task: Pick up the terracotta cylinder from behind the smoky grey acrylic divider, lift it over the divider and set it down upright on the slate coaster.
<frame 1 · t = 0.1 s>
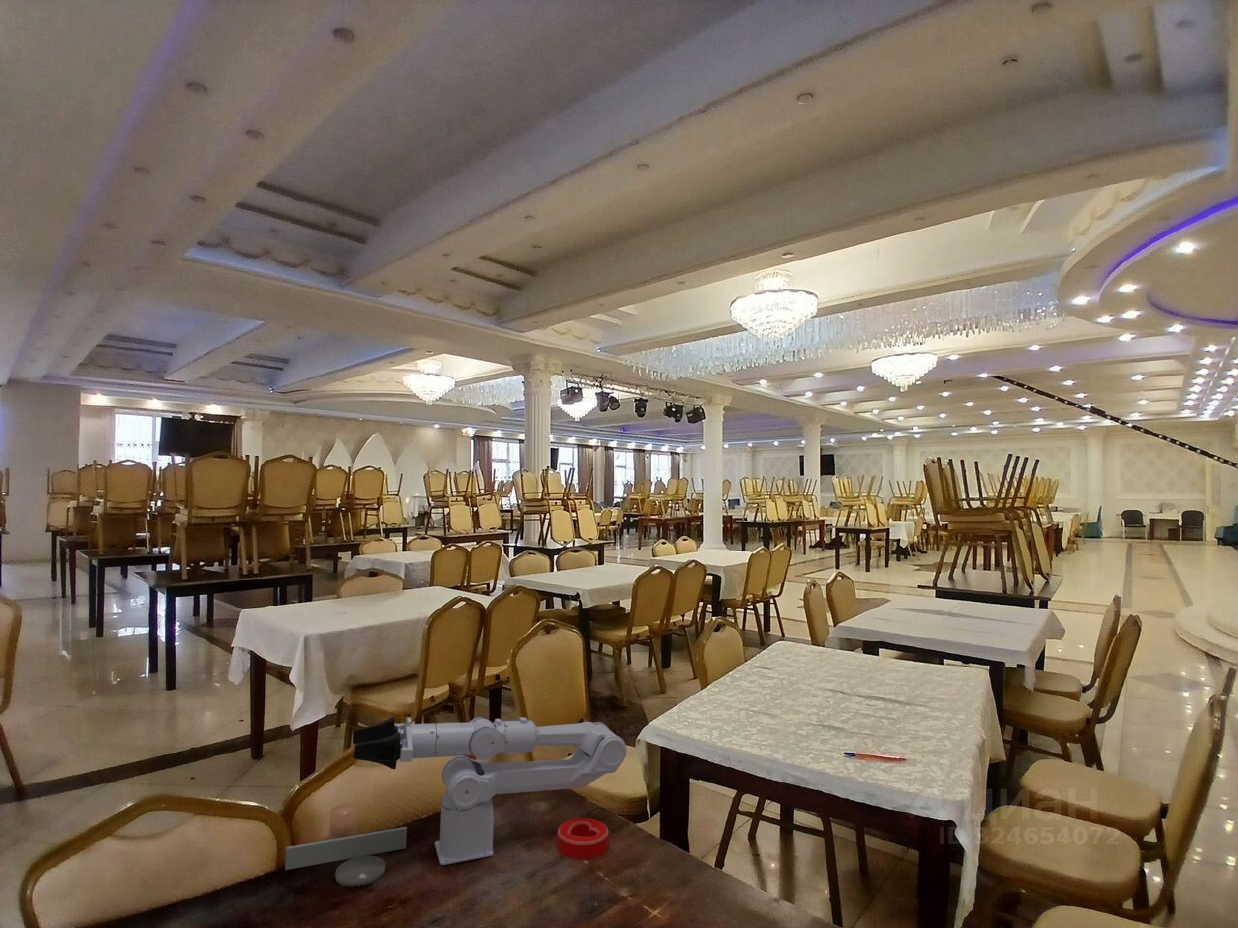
hand: (353, 743, 112), 22 cm above the table, tool horizontal, fingers open, 7 cm apart
decorative ornament: (582, 847, 121), on the table
terracotta cylinder: (341, 842, 120), on the table
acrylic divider: (347, 857, 115), on the table
slate coaster: (360, 872, 111), on the table
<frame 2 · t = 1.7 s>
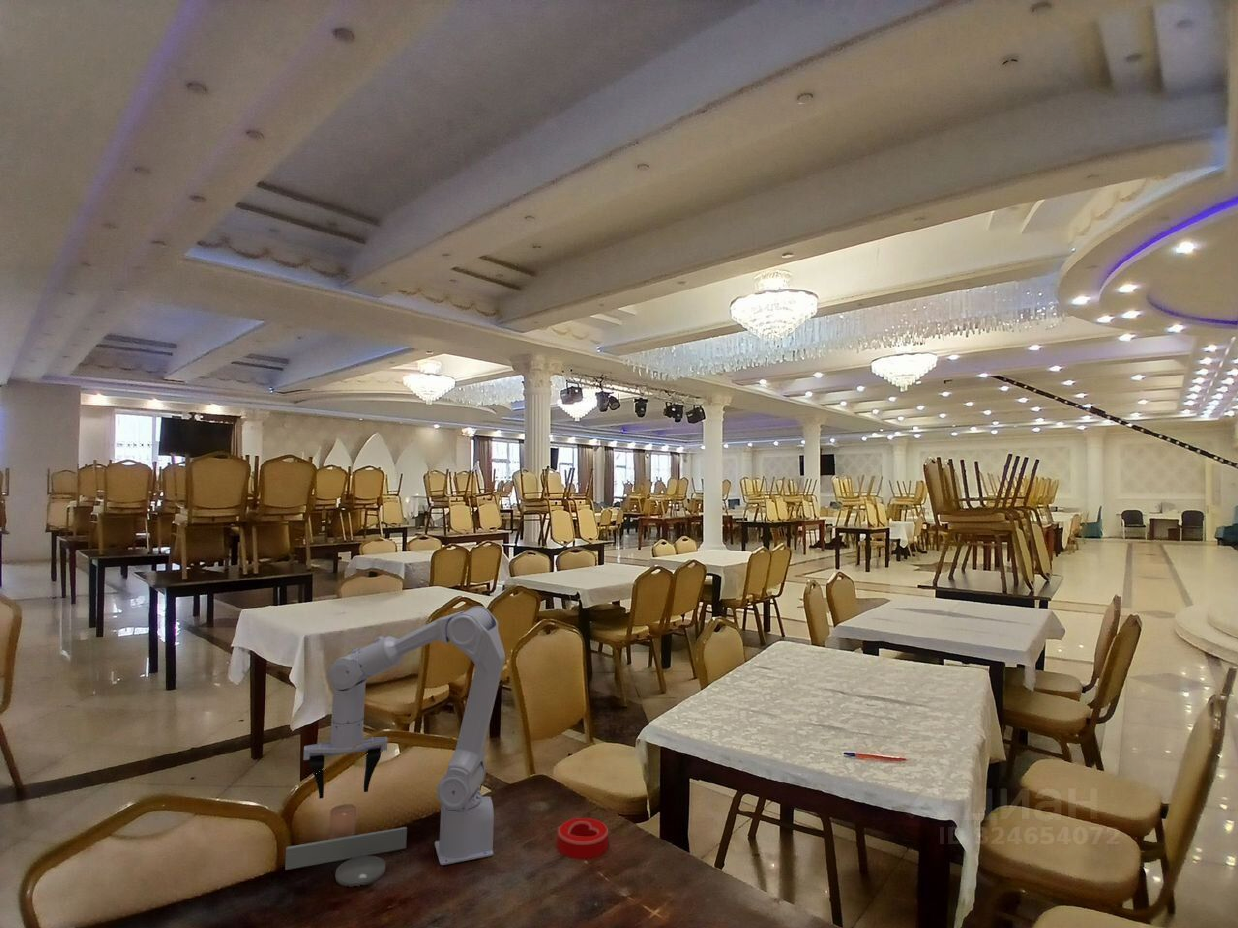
hand: (343, 792, 121), 9 cm above the table, tool pointing down, fingers open, 7 cm apart
nothing on the table moved.
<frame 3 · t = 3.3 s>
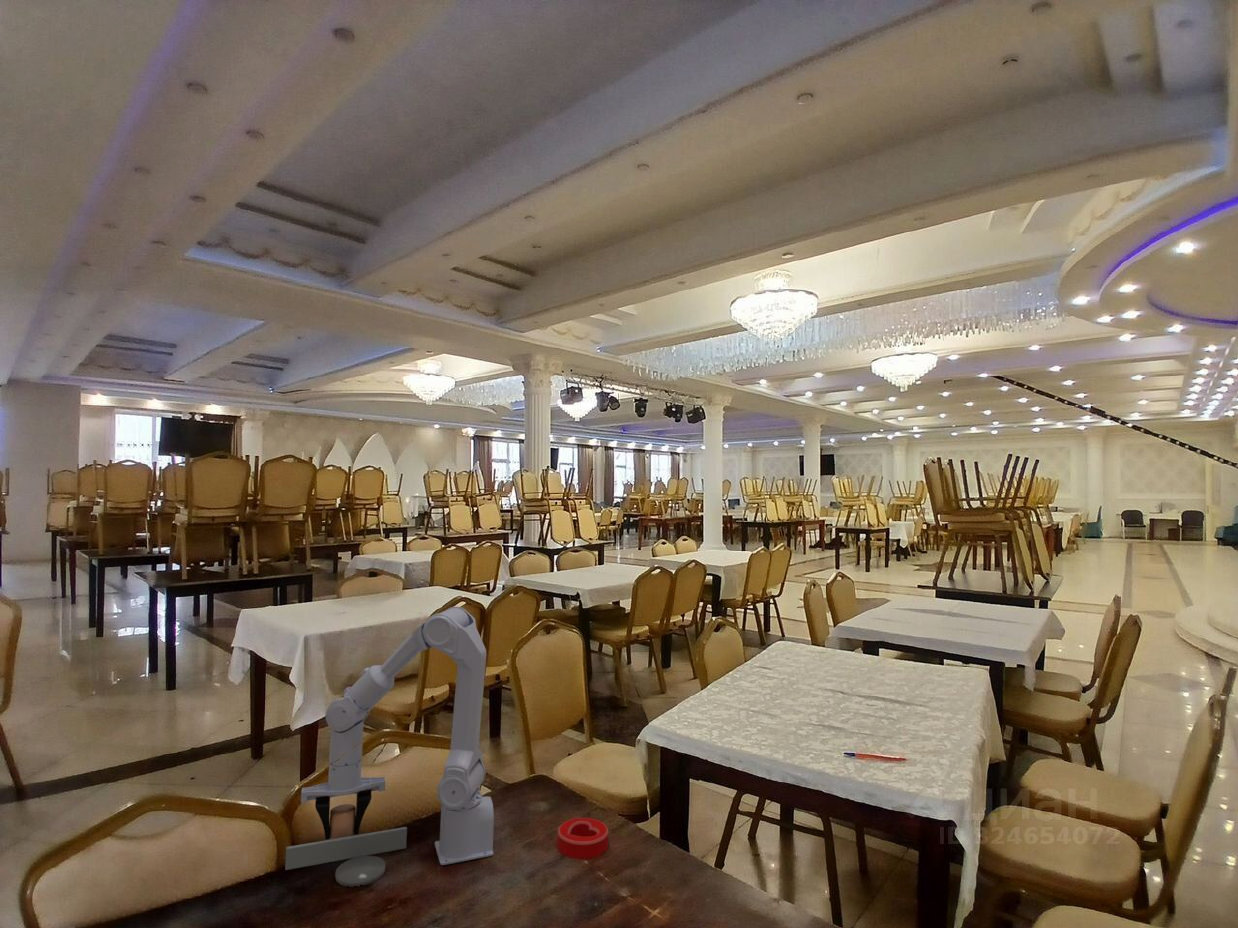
hand: (341, 834, 120), 1 cm above the table, tool pointing down, fingers closed on terracotta cylinder, 4 cm apart
terracotta cylinder: (341, 842, 120), on the table, touching gripper
everything else where it was.
when the fingers open (4 cm above the table, at t = 7.5 s): terracotta cylinder drops 1 cm, resting on slate coaster.
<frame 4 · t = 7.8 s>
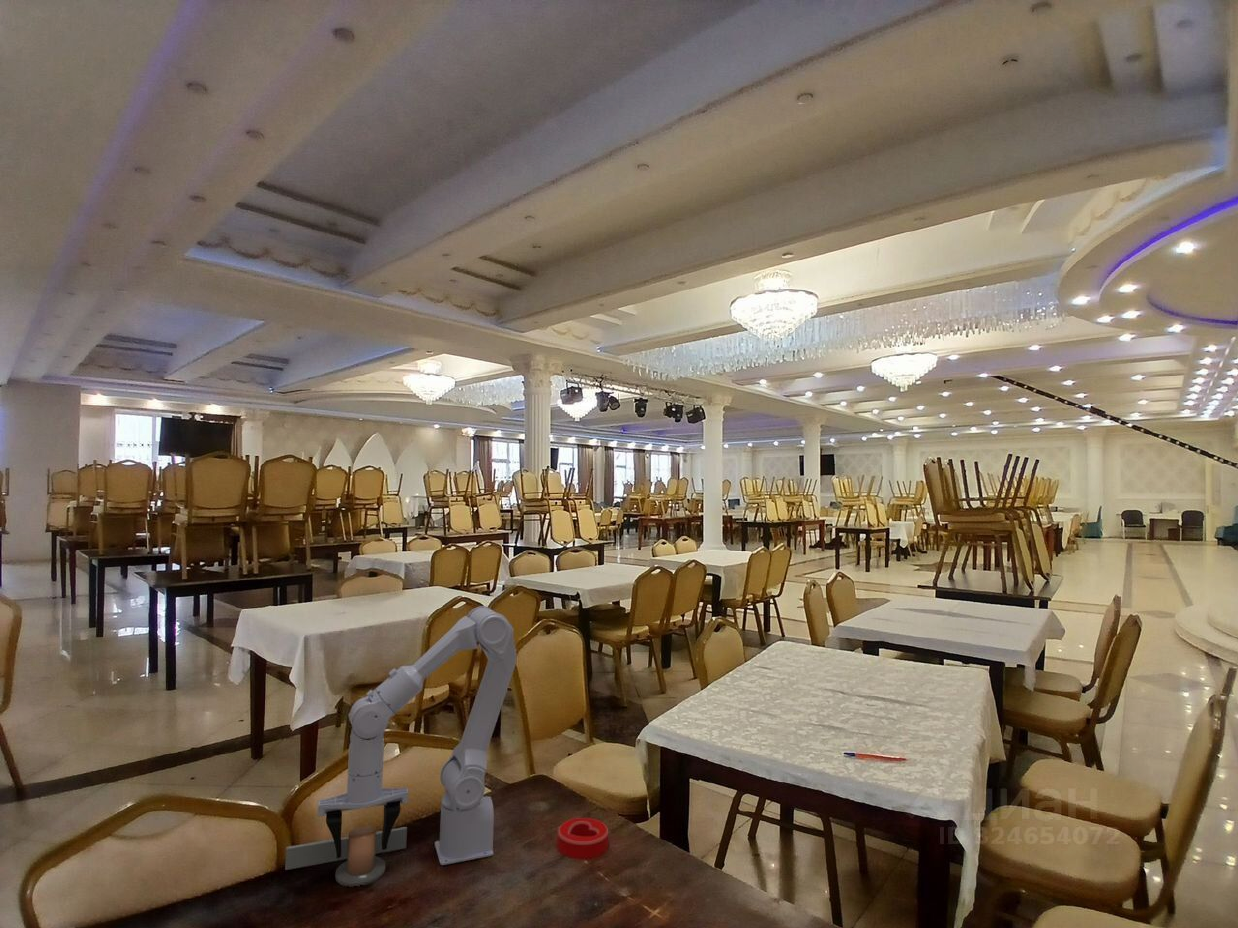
hand: (361, 850, 111), 4 cm above the table, tool pointing down, fingers open, 7 cm apart
terracotta cylinder: (360, 868, 111), point 1 cm above the table, touching slate coaster
everything else where it was.
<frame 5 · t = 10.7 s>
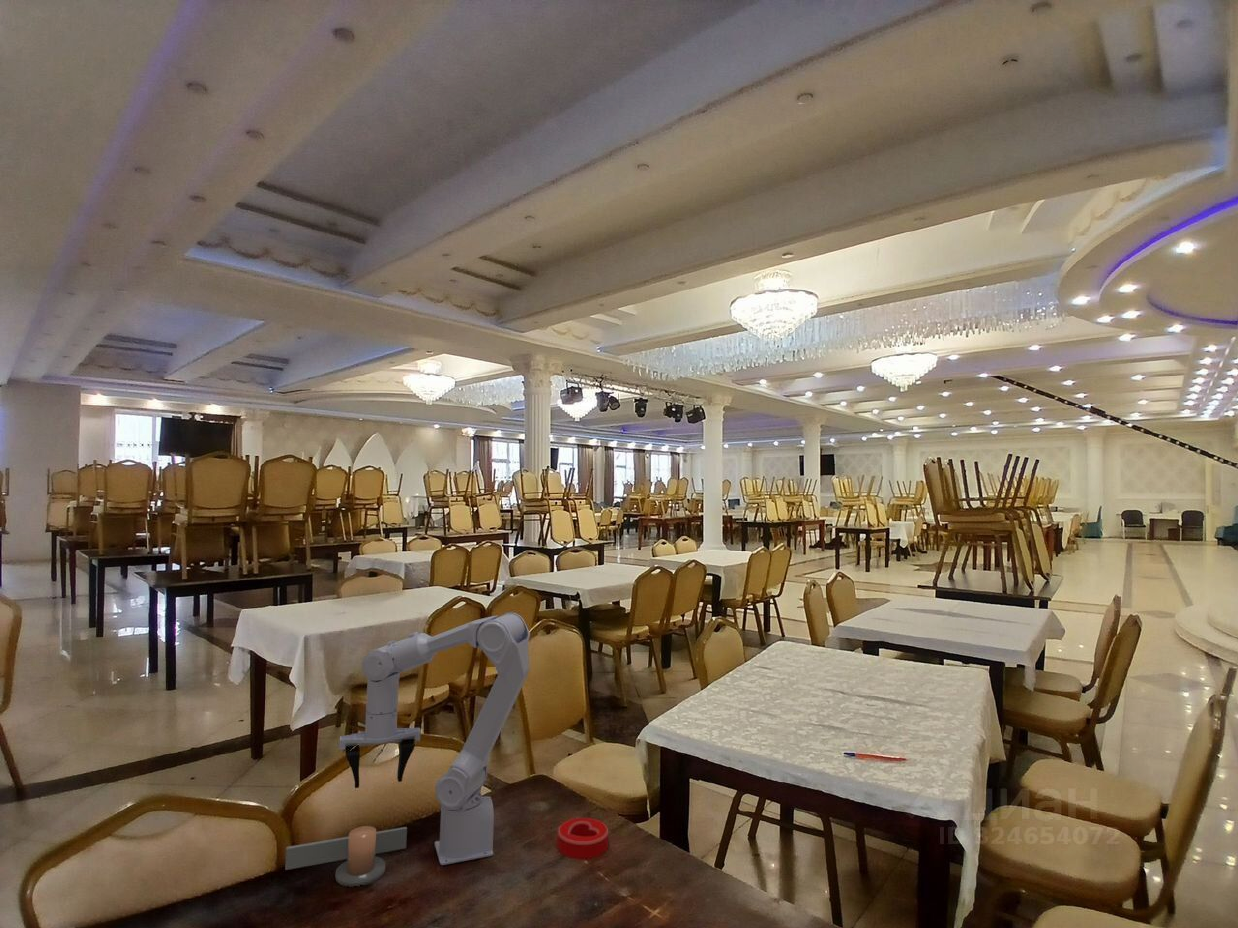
hand: (378, 782, 122), 10 cm above the table, tool pointing down, fingers open, 7 cm apart
nothing on the table moved.
at the end: terracotta cylinder 0.0 cm off-centre on the slate coaster, point 0.8 cm above the slate coaster's base; terracotta cylinder tilted 0°; the gripper is holding nothing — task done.
